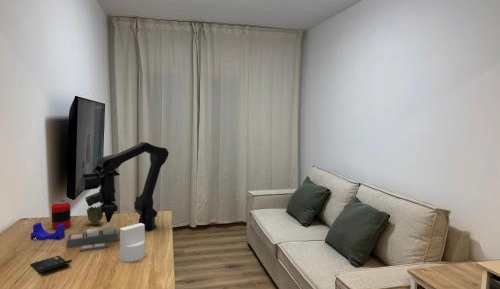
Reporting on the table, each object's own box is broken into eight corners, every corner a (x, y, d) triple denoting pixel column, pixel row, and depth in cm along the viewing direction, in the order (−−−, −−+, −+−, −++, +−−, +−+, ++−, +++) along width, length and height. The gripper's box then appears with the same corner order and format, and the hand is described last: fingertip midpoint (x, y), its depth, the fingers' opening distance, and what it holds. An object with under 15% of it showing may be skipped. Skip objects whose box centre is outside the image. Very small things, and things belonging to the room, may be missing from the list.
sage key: (113, 231, 146) (113, 226, 145) (114, 235, 142) (114, 230, 142) (102, 233, 144) (102, 227, 143) (102, 236, 140) (102, 231, 140)
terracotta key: (82, 238, 140) (82, 233, 140) (82, 242, 137) (82, 237, 136) (71, 240, 138) (70, 235, 138) (70, 244, 135) (70, 238, 134)
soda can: (73, 224, 159) (72, 199, 157) (66, 230, 151) (66, 204, 150) (56, 224, 158) (55, 200, 156) (49, 230, 150) (48, 204, 149)
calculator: (58, 257, 125) (58, 249, 125) (71, 267, 118) (71, 259, 117) (30, 266, 118) (29, 258, 118) (42, 277, 111) (42, 269, 110)
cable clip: (30, 239, 140) (30, 226, 139) (38, 235, 144) (37, 222, 143) (58, 241, 139) (57, 227, 138) (64, 237, 143) (64, 224, 143)
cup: (99, 227, 156) (99, 210, 155) (84, 226, 156) (83, 210, 155) (106, 221, 163) (106, 206, 162) (91, 221, 163) (91, 205, 162)
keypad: (116, 234, 148) (116, 227, 148) (118, 240, 141) (118, 233, 141) (66, 241, 139) (66, 234, 139) (66, 248, 133) (65, 240, 132)
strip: (106, 244, 137) (106, 242, 137) (107, 247, 134) (107, 245, 134) (79, 248, 132) (79, 246, 132) (79, 251, 130) (79, 249, 129)
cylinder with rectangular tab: (127, 264, 121) (127, 232, 120) (115, 256, 127) (115, 226, 126) (149, 256, 128) (149, 226, 126) (137, 249, 134) (137, 220, 132)
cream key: (98, 233, 143) (98, 228, 143) (98, 237, 139) (98, 231, 139) (86, 235, 141) (86, 229, 141) (87, 239, 137) (87, 233, 137)
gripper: (86, 183, 145) (87, 217, 147) (86, 193, 129) (87, 232, 130) (113, 181, 150) (114, 214, 152) (117, 191, 134) (118, 228, 135)
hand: (108, 222), depth 142 cm, fingers closed
